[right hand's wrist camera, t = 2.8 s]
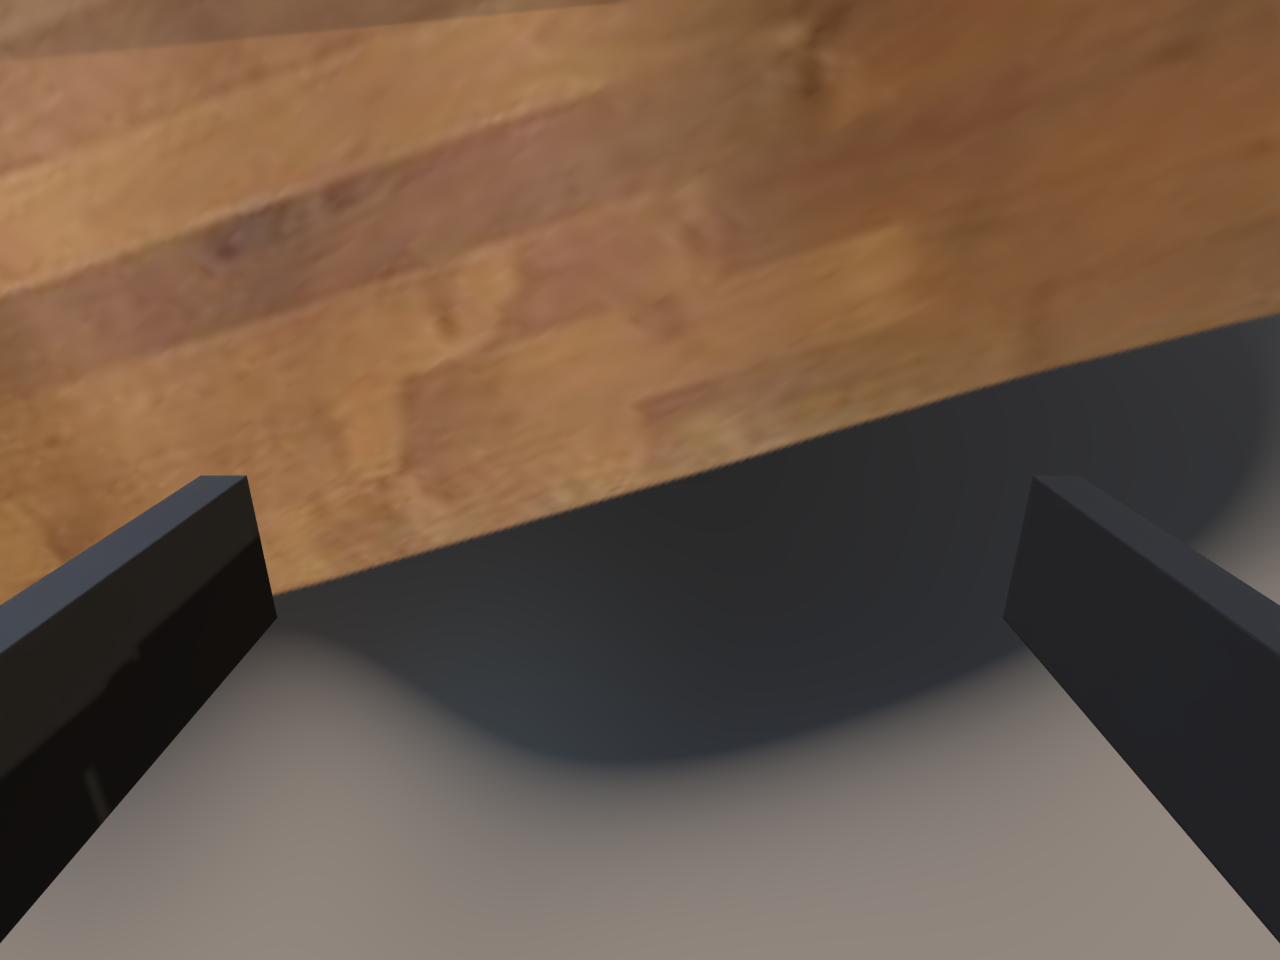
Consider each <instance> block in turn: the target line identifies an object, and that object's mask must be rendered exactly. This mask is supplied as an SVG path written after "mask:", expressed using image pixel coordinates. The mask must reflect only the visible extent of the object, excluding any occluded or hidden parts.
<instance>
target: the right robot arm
mask: <svg viewBox="0 0 1280 960" xmlns="http://www.w3.org/2000/svg"><path fill="white" fill-rule="evenodd" d="M276 618H277V615H276V611H275V606H274V601H273V596H272V592H271V587H270V582H269V578H268V573H267V568H266V564H265V559H264V554H263V550H262V545H261V540H260V536H259V531H258V526H257V522H256V517H255V512H254V508H253V503H252V498H251V494H250V489H249V484H248V480H247V476H200V477H198V478H197V479H195V480H193V481H192V482H190V483H189V484H187V485H186V486H184V487H183V488H181V489H180V490H178V491H176V492H175V493H173V494H172V495H170V496H169V497H167V498H166V499H164V500H163V501H161V502H159V503H158V504H156V505H155V506H153V507H152V508H150V509H149V510H147V511H146V512H144V513H142V514H141V515H139V516H138V517H136V518H135V519H133V520H132V521H130V522H129V523H127V524H125V525H124V526H122V527H121V528H119V529H118V530H116V531H115V532H113V533H112V534H110V535H109V536H107V537H105V538H104V539H102V540H101V541H99V542H98V543H96V544H95V545H93V546H92V547H90V548H88V549H87V550H85V551H84V552H82V553H81V554H79V555H78V556H76V557H75V558H73V559H71V560H70V561H68V562H67V563H65V564H64V565H62V566H61V567H59V568H58V569H56V570H54V571H53V572H51V573H50V574H48V575H47V576H45V577H44V578H42V579H41V580H39V581H37V582H36V583H34V584H33V585H31V586H30V587H28V588H27V589H25V590H24V591H22V592H20V593H19V594H17V595H16V596H14V597H13V598H11V599H10V600H8V601H7V602H5V603H3V604H2V605H0V943H1V942H2V940H3V939H4V938H5V937H6V936H7V935H8V933H9V932H10V931H11V930H12V929H13V928H14V926H15V925H16V924H17V923H18V922H19V920H20V919H21V918H22V917H23V916H24V915H25V913H26V912H27V911H28V910H29V909H30V908H31V906H32V905H33V904H34V903H35V902H36V901H37V899H38V898H39V897H40V896H41V895H42V893H43V892H44V891H45V890H46V889H47V888H48V886H49V885H50V884H51V883H52V882H53V881H54V879H55V878H56V877H57V876H58V875H59V873H60V872H61V871H62V870H63V869H64V868H65V866H66V865H67V864H68V863H69V862H70V861H71V859H72V858H73V857H74V856H75V855H76V854H77V852H78V851H79V850H80V849H81V848H82V846H83V845H84V844H85V843H86V842H87V841H88V839H89V838H90V837H91V836H92V835H93V833H94V832H95V831H96V830H97V829H98V828H99V826H100V825H101V824H102V823H103V822H104V821H105V819H106V818H107V817H108V816H109V815H110V814H111V812H112V811H113V810H114V809H115V808H116V806H117V805H118V804H119V803H120V802H121V801H122V799H123V798H124V797H125V796H126V795H127V794H128V792H129V791H130V790H131V789H132V788H133V787H134V785H135V784H136V783H137V782H138V781H139V779H140V778H141V777H142V776H143V775H144V774H145V772H146V771H147V770H148V769H149V768H150V767H151V765H152V764H153V763H154V762H155V761H156V759H157V758H158V757H159V756H160V755H161V754H162V752H163V751H164V750H165V749H166V748H167V747H168V745H169V744H170V743H171V742H172V741H173V740H174V738H175V737H176V736H177V735H178V734H179V732H180V731H181V730H182V729H183V728H184V727H185V725H186V724H187V723H188V722H189V721H190V720H191V718H192V717H193V716H194V715H195V714H196V712H197V711H198V710H199V709H200V708H201V707H202V705H203V704H204V703H205V702H206V701H207V700H208V698H209V697H210V696H211V695H212V694H213V692H214V691H215V690H216V689H217V688H218V687H219V685H220V684H221V683H222V682H223V681H224V680H225V678H226V677H227V676H228V675H229V674H230V672H231V671H232V670H233V669H234V668H235V667H236V665H237V664H238V663H239V662H240V661H241V660H242V658H243V657H244V656H245V655H246V654H247V653H248V651H249V650H250V649H251V648H252V647H253V646H254V644H255V643H256V642H257V641H258V640H259V638H260V637H261V636H262V635H263V634H264V633H265V631H266V630H267V629H268V628H269V627H270V626H271V624H272V623H273V622H274V621H275V620H276ZM1003 618H1004V620H1005V621H1006V622H1007V623H1008V624H1009V626H1010V627H1011V628H1012V629H1013V630H1014V631H1015V633H1016V634H1017V635H1018V636H1019V637H1020V638H1021V640H1022V641H1023V642H1024V643H1025V644H1026V645H1027V647H1028V648H1029V649H1030V650H1031V651H1032V653H1033V654H1034V655H1035V656H1036V657H1037V658H1038V660H1039V661H1040V662H1041V663H1042V664H1043V665H1044V667H1045V668H1046V669H1047V670H1048V671H1049V673H1050V674H1051V675H1052V676H1053V677H1054V678H1055V680H1056V681H1057V682H1058V683H1059V684H1060V685H1061V687H1062V688H1063V689H1064V690H1065V691H1066V692H1067V694H1068V695H1069V696H1070V697H1071V698H1072V700H1073V701H1074V702H1075V703H1076V704H1077V705H1078V707H1079V708H1080V709H1081V710H1082V711H1083V712H1084V714H1085V715H1086V716H1087V717H1088V718H1089V719H1090V721H1091V722H1092V723H1093V724H1094V725H1095V727H1096V728H1097V729H1098V730H1099V731H1100V732H1101V734H1102V735H1103V736H1104V737H1105V738H1106V740H1107V741H1108V742H1109V743H1110V744H1111V745H1112V747H1113V748H1114V749H1115V750H1116V751H1117V752H1118V754H1119V755H1120V756H1121V757H1122V758H1123V759H1124V761H1125V762H1126V763H1127V764H1128V765H1129V766H1130V768H1131V769H1132V770H1133V771H1134V772H1135V774H1136V775H1137V776H1138V777H1139V778H1140V779H1141V781H1142V782H1143V783H1144V784H1145V785H1146V786H1147V788H1148V789H1149V790H1150V791H1151V792H1152V794H1153V795H1154V796H1155V797H1156V798H1157V799H1158V801H1159V802H1160V803H1161V804H1162V805H1163V806H1164V808H1165V809H1166V810H1167V811H1168V812H1169V814H1170V815H1171V816H1172V817H1173V818H1174V819H1175V821H1176V822H1177V823H1178V824H1179V825H1180V826H1181V828H1182V829H1183V830H1184V831H1185V832H1186V834H1187V835H1188V836H1189V837H1190V838H1191V839H1192V841H1193V842H1194V843H1195V844H1196V845H1197V846H1198V848H1199V849H1200V850H1201V851H1202V852H1203V853H1204V855H1205V856H1206V857H1207V858H1208V859H1209V860H1210V862H1211V863H1212V864H1213V865H1214V866H1215V868H1216V869H1217V870H1218V871H1219V872H1220V873H1221V875H1222V876H1223V877H1224V878H1225V879H1226V880H1227V882H1228V883H1229V884H1230V885H1231V886H1232V888H1233V889H1234V890H1235V891H1236V892H1237V893H1238V895H1239V896H1240V897H1241V898H1242V899H1243V900H1244V902H1245V903H1246V904H1247V905H1248V906H1249V908H1250V909H1251V910H1252V911H1253V912H1254V913H1255V915H1256V916H1257V917H1258V918H1259V919H1260V920H1261V922H1262V923H1263V924H1264V925H1265V926H1266V927H1267V929H1268V930H1269V931H1270V932H1271V933H1272V935H1273V936H1274V937H1275V938H1276V939H1277V940H1278V942H1279V943H1280V605H1278V604H1276V603H1275V602H1273V601H1272V600H1270V599H1269V598H1267V597H1266V596H1264V595H1263V594H1261V593H1259V592H1258V591H1256V590H1255V589H1253V588H1252V587H1250V586H1249V585H1247V584H1246V583H1244V582H1243V581H1241V580H1239V579H1238V578H1236V577H1235V576H1233V575H1232V574H1230V573H1229V572H1227V571H1226V570H1224V569H1222V568H1221V567H1219V566H1218V565H1216V564H1215V563H1213V562H1212V561H1210V560H1209V559H1207V558H1205V557H1204V556H1202V555H1201V554H1199V553H1198V552H1196V551H1195V550H1193V549H1192V548H1190V547H1188V546H1187V545H1185V544H1184V543H1182V542H1181V541H1179V540H1178V539H1176V538H1175V537H1173V536H1171V535H1170V534H1168V533H1167V532H1165V531H1164V530H1162V529H1161V528H1159V527H1158V526H1156V525H1155V524H1153V523H1151V522H1150V521H1148V520H1147V519H1145V518H1144V517H1142V516H1141V515H1139V514H1138V513H1136V512H1134V511H1133V510H1131V509H1130V508H1128V507H1127V506H1125V505H1124V504H1122V503H1121V502H1119V501H1117V500H1116V499H1114V498H1113V497H1111V496H1110V495H1108V494H1107V493H1105V492H1104V491H1102V490H1100V489H1099V488H1097V487H1096V486H1094V485H1093V484H1091V483H1090V482H1088V481H1087V480H1085V479H1083V478H1082V477H1080V476H1033V480H1032V484H1031V489H1030V494H1029V498H1028V503H1027V508H1026V512H1025V517H1024V522H1023V526H1022V531H1021V536H1020V540H1019V545H1018V550H1017V554H1016V559H1015V564H1014V569H1013V573H1012V578H1011V582H1010V587H1009V592H1008V597H1007V601H1006V606H1005V610H1004V615H1003Z"/></svg>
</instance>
